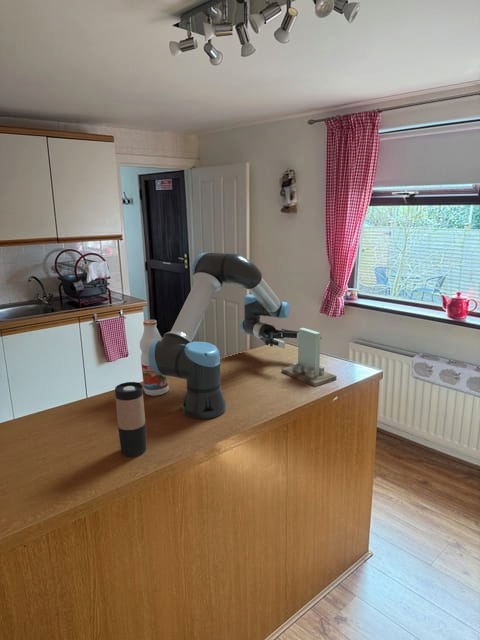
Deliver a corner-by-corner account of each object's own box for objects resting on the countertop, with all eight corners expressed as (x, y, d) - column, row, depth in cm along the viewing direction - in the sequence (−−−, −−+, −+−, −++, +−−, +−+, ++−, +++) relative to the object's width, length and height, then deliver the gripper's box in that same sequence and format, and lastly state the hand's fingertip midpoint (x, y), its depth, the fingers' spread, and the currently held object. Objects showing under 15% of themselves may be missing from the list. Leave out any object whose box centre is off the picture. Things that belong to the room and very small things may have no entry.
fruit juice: (172, 386, 172) (166, 318, 165) (163, 396, 163) (156, 324, 156) (150, 385, 174) (143, 317, 167) (140, 395, 165) (132, 324, 158)
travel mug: (115, 450, 127) (109, 387, 122) (138, 441, 132) (133, 379, 127) (129, 461, 122) (123, 394, 117) (152, 450, 127) (147, 386, 122)
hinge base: (281, 372, 186) (281, 362, 185) (301, 366, 193) (302, 356, 192) (315, 386, 171) (315, 375, 169) (336, 379, 177) (336, 369, 176)
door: (296, 368, 186) (296, 328, 181) (302, 367, 188) (303, 326, 183) (314, 376, 177) (316, 333, 172) (321, 374, 179) (322, 332, 175)
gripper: (285, 334, 210) (316, 345, 193) (243, 344, 196) (273, 356, 179) (285, 319, 208) (317, 328, 191) (243, 328, 194) (273, 339, 177)
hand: (296, 342), depth 185 cm, fingers open, 13 cm apart
